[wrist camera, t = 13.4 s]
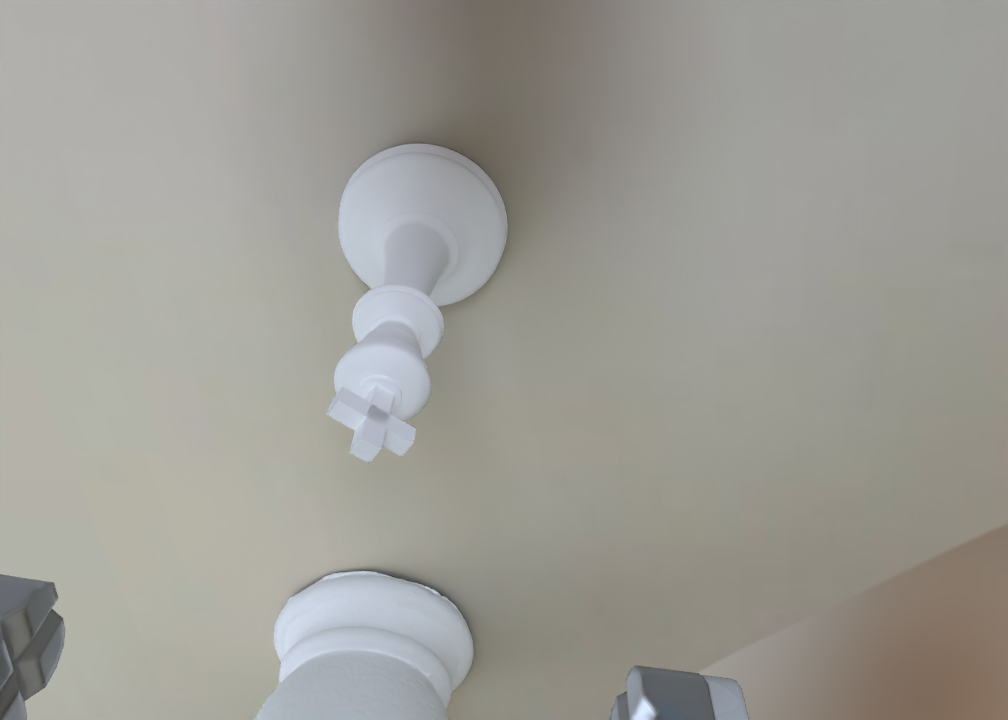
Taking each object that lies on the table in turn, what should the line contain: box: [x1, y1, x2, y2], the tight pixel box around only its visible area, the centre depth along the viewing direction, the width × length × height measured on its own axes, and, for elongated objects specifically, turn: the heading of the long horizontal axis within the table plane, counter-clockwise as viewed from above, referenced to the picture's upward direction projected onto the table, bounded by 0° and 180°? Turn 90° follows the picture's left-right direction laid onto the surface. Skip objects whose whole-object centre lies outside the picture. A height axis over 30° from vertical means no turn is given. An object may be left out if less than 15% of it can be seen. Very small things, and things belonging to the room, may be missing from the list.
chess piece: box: [327, 144, 508, 463], centre depth 18 cm, size 5×5×10 cm
